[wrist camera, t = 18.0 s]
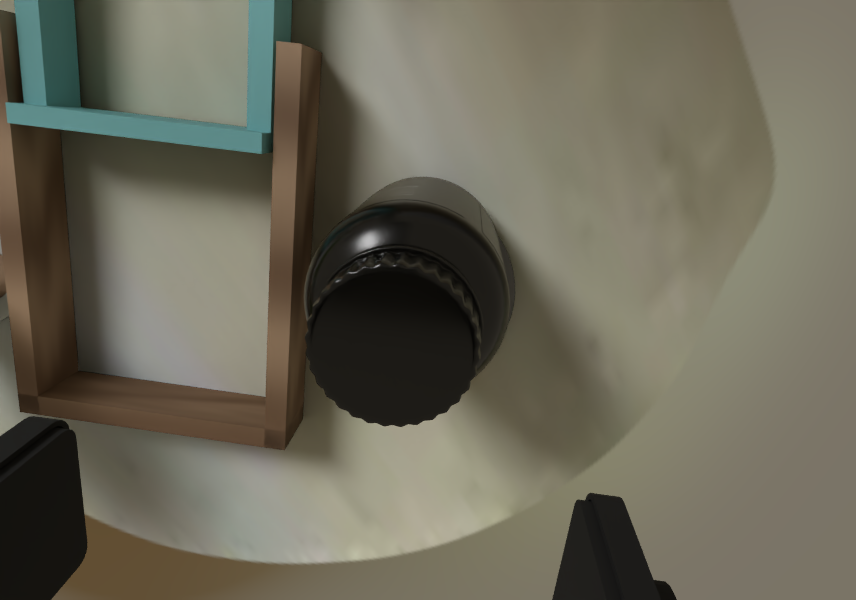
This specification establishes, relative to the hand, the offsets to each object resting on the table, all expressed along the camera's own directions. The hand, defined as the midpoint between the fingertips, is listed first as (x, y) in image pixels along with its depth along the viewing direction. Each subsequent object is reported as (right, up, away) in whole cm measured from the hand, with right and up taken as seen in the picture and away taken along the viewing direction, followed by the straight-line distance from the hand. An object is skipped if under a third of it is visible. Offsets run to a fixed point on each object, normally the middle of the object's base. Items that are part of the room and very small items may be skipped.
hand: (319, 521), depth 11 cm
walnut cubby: (-10, +7, +17) cm, 21 cm away
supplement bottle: (+2, +6, +16) cm, 18 cm away
